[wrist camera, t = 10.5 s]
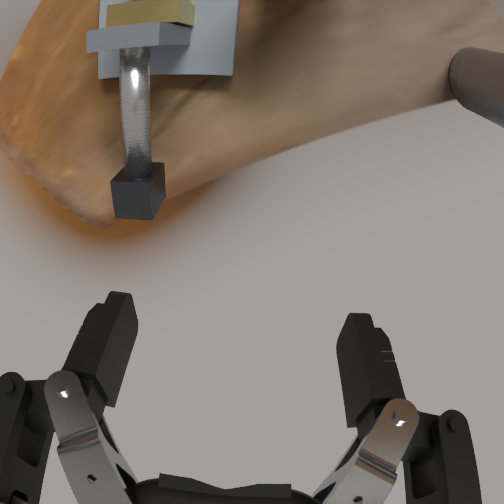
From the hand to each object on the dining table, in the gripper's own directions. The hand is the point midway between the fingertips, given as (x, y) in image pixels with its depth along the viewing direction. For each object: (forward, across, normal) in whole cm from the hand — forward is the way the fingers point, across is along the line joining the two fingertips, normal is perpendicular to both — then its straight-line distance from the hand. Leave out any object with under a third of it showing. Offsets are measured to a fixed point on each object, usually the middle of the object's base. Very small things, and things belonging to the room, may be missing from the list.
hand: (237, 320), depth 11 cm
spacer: (+25, +11, -12) cm, 30 cm away
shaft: (+23, +11, -1) cm, 25 cm away
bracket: (+30, +11, -12) cm, 34 cm away
